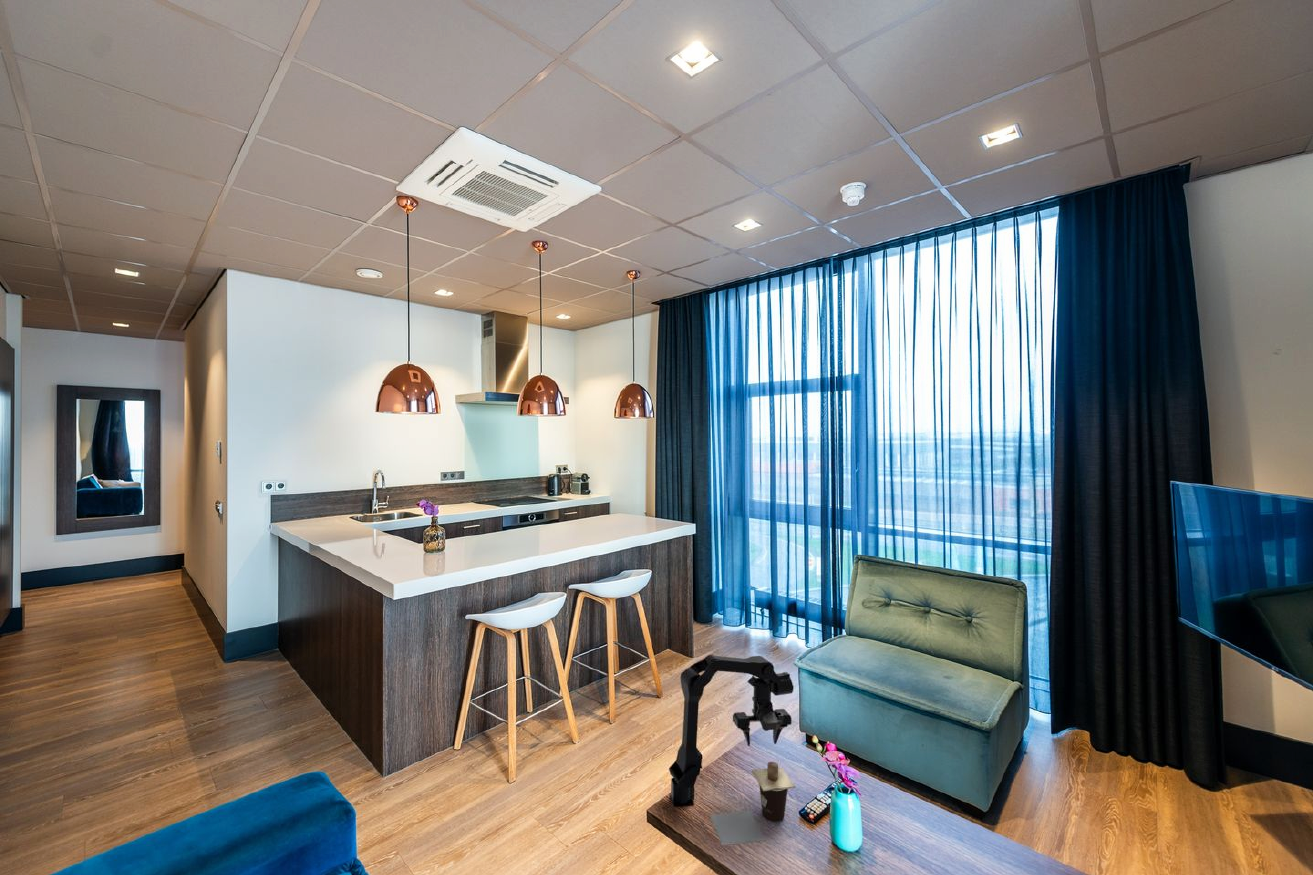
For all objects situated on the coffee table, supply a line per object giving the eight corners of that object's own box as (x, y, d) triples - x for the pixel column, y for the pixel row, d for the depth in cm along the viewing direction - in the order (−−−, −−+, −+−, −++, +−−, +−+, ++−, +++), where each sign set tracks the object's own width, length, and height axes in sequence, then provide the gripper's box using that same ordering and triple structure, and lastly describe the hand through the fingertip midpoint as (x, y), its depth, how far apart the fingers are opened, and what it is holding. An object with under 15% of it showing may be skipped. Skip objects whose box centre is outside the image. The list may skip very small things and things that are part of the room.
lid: (763, 790, 162) (763, 775, 162) (751, 771, 172) (751, 756, 172) (795, 787, 164) (795, 772, 164) (781, 768, 173) (781, 754, 174)
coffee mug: (790, 825, 162) (791, 791, 162) (761, 824, 162) (761, 790, 162) (782, 800, 173) (782, 768, 174) (755, 799, 173) (755, 767, 174)
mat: (722, 846, 153) (722, 845, 153) (709, 815, 165) (709, 814, 165) (766, 841, 155) (766, 839, 155) (750, 811, 168) (750, 810, 168)
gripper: (743, 710, 173) (743, 760, 172) (799, 705, 176) (798, 755, 176) (732, 694, 184) (731, 742, 183) (784, 691, 187) (784, 737, 187)
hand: (761, 744), depth 182 cm, fingers open, 9 cm apart
